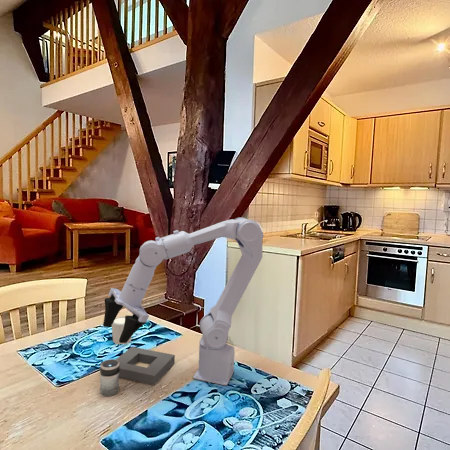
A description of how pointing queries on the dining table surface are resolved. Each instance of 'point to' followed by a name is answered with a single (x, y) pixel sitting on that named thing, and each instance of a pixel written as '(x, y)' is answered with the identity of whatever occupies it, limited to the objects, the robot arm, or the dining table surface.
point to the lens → (109, 377)
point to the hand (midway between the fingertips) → (114, 333)
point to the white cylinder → (118, 330)
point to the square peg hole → (142, 374)
